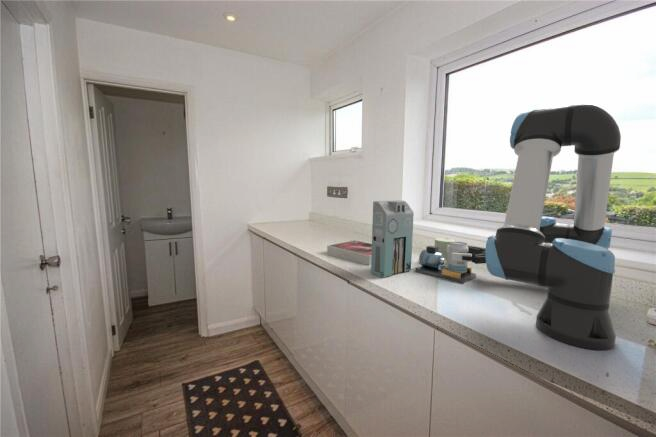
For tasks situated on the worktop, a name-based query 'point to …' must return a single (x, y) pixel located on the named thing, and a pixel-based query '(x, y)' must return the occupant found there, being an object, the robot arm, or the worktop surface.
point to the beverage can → (453, 264)
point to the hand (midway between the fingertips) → (449, 252)
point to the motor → (440, 266)
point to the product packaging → (352, 251)
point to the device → (391, 238)
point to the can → (444, 247)
